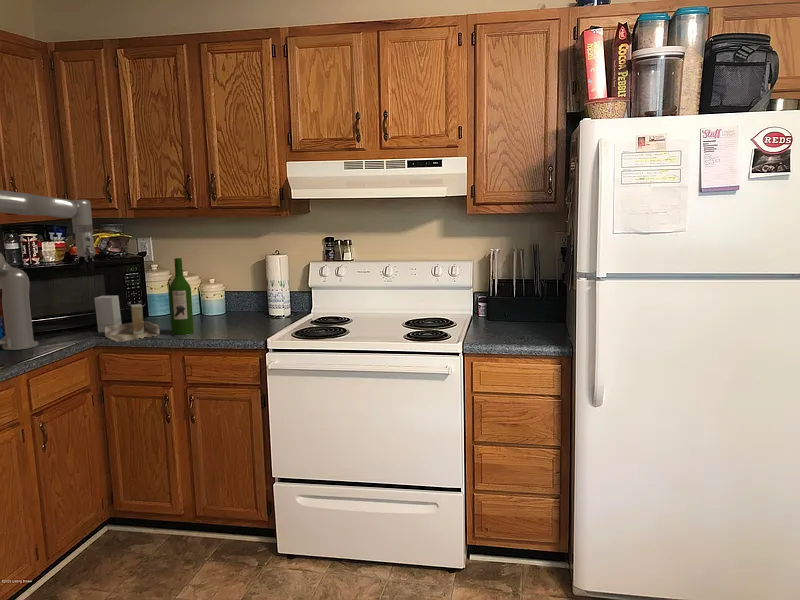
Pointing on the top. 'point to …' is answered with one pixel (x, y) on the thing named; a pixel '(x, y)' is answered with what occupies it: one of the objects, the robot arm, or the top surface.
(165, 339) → the top surface
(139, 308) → the skincare box
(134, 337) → the tray
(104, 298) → the skincare box
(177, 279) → the wine bottle
